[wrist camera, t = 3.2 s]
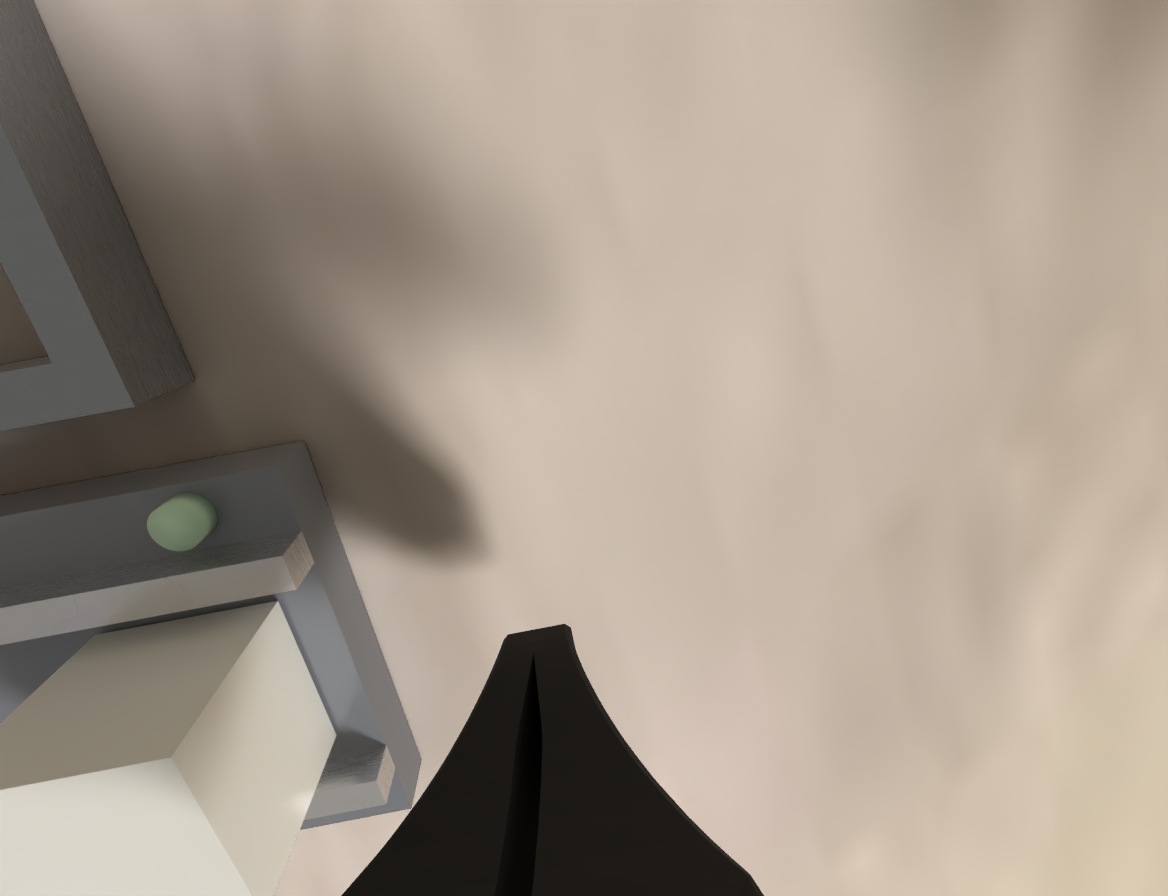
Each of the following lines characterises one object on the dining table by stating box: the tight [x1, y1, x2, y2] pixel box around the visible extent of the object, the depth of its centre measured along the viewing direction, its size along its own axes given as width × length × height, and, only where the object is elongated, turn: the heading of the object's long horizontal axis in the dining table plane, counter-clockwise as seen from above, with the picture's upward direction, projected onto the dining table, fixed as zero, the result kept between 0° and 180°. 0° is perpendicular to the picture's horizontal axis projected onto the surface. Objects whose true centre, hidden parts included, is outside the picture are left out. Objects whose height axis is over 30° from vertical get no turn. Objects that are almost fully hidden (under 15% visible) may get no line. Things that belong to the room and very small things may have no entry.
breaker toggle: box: [0, 601, 336, 896], centre depth 11 cm, size 4×4×4 cm
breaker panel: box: [0, 441, 422, 830], centre depth 14 cm, size 10×14×2 cm
